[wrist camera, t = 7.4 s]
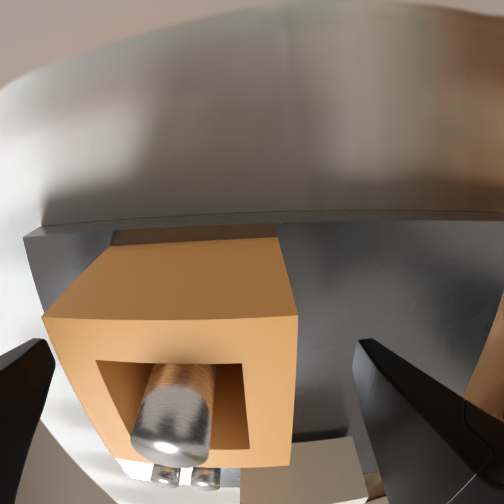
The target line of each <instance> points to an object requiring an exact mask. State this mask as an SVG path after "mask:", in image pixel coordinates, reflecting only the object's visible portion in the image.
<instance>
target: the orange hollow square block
mask: <svg viewBox="0 0 504 504" xmlns="http://www.w3.org/2000/svg"><path fill="white" fill-rule="evenodd" d="M42 320H43V323H44V325H45V328H46V330H47V333H48V335H49V338H50V340H51V343H52V345H53V347H54V350H55V352H56V354H57V356H58V359H59V361H60V363H61V365H62V367H63V370H64V372H65V374H66V376H67V378H68V380H69V382H70V384H71V386H72V388H73V390H74V392H75V394H76V396H77V398H78V399H79V401H80V403H81V405H82V407H83V409H84V411H85V412H86V414H87V416H88V418H89V419H90V421H91V423H92V425H93V426H94V428H95V430H96V431H97V433H98V435H99V436H100V438H101V439H102V441H103V443H104V444H105V446H106V447H107V449H108V450H109V452H110V453H111V455H112V456H113V458H116V459H122V460H129V461H136V462H143V463H152V464H157V463H154V462H152V461H150V460H148V459H146V458H144V457H143V456H141V455H140V454H139V453H138V452H137V451H136V450H135V449H134V448H133V446H132V445H131V442H130V437H131V434H132V431H133V427H134V424H135V421H136V418H137V415H138V411H139V408H140V405H141V402H142V399H143V396H144V393H145V390H146V387H147V384H148V381H149V378H150V375H151V372H152V369H153V366H154V363H163V364H218V366H217V376H216V385H215V395H214V405H213V415H212V425H211V436H210V446H209V456H208V459H207V460H206V462H204V463H203V464H201V465H199V466H196V467H206V468H254V467H274V466H288V465H290V454H291V441H292V428H293V413H294V397H295V380H296V360H297V336H298V313H297V309H296V305H295V301H294V297H293V293H292V289H291V286H290V282H289V278H288V274H287V271H286V267H285V263H284V259H283V256H282V252H281V248H280V244H279V241H278V237H271V238H250V239H230V240H210V241H192V242H174V243H156V244H139V245H123V246H109V247H108V248H107V249H106V250H105V251H104V252H103V253H102V254H101V255H100V256H99V257H98V258H97V259H96V260H95V261H94V262H93V263H92V264H91V265H90V266H89V267H88V268H87V269H86V270H85V271H84V272H83V273H82V274H81V275H80V276H79V277H78V278H77V279H76V280H75V281H74V282H73V283H72V284H71V285H70V286H69V287H68V288H67V290H66V291H65V292H64V293H63V294H62V295H61V296H60V297H59V298H58V299H57V300H56V301H55V302H54V303H53V304H52V306H51V307H50V308H49V309H48V310H47V311H46V312H45V313H44V314H43V316H42Z"/></svg>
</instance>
